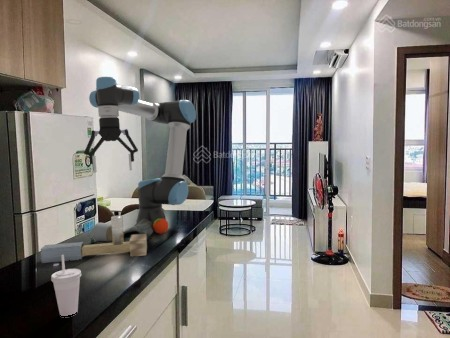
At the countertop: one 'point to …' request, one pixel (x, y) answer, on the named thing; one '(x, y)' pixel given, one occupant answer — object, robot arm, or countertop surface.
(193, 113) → the robot arm
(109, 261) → the countertop surface
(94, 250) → the bar with upright post
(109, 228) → the ceramic mug
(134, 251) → the socket block
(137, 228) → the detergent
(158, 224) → the clementine
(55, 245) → the sleeve
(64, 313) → the smoothie
